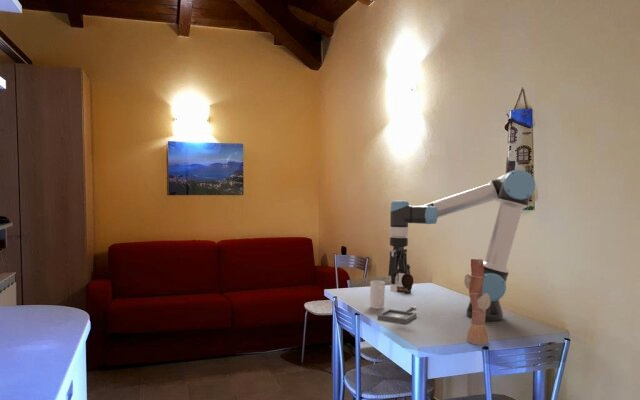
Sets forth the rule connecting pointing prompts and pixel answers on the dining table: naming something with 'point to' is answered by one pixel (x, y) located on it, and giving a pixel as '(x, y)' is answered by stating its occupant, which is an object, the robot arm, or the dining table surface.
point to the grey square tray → (397, 316)
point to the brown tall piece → (477, 303)
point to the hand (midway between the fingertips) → (397, 289)
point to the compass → (406, 283)
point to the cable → (411, 308)
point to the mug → (377, 294)
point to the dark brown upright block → (405, 273)
